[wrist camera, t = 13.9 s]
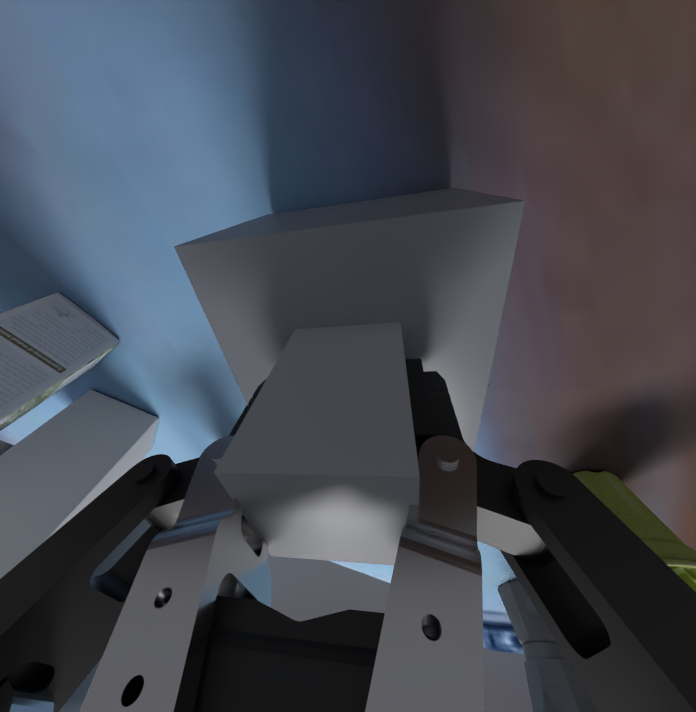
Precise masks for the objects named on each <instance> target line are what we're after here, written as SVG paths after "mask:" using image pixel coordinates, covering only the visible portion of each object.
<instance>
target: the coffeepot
mask: <svg viewBox="0 0 696 712" xmlns="http://www.w3.org/2000/svg"><path fill="white" fill-rule="evenodd" d="M498 592H499V594H500V596H501V599H502V601H503V604H504V606H505V609H506V611H507V613H508V616H509V618H510V621H511V623H512V625H513V628H514V630H515V633H516V635H517V637H518V640H519V642H520V643H521V644H522V645H523V646H522V647H523V651H524V654H525V657H526V660H527V661H526V662H524V664H525V669H526V675H527V681H528V686H529V691H530V697H531V702H532V708H533V712H599V710H598V709H597V707H596V705H595V704H594V702H593V700H592V699H591V697H590V696H589V694H588V692H587V691H586V689H585V687H584V686H583V684H582V683H581V681H580V679H579V678H578V676H577V674H576V673H575V671H574V670H573V668H572V666H571V665H570V663H569V661H568V660H567V658H566V657H565V655H564V653H563V652H562V650H561V648H560V647H559V645H558V643H557V642H556V640H555V639H554V637H553V635H552V634H551V632H550V630H549V629H548V627H547V626H546V624H545V622H544V621H543V619H542V617H541V616H540V614H539V613H538V611H537V609H536V608H535V606H534V604H533V603H532V601H531V600H530V598H529V596H528V595H527V593H526V591H525V590H524V588H523V587H522V585H521V583H520V582H519V580H513V581H509V582H506V583H503V584H502V585H501V586H500V587H499V588H498Z"/></svg>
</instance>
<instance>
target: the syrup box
mask: <svg viewBox="0 0 696 712" xmlns="http://www.w3.org/2000/svg"><path fill="white" fill-rule="evenodd" d="M118 343H119V340H118V339H117V338H116V337H115V336H114V335H113V334H111V333H110V332H109V331H108V330H107V329H106V328H104V327H103V326H102V325H101V324H99V323H98V322H97V321H96V320H94V319H93V318H92V317H91V316H89V315H88V314H87V313H85V312H84V311H83V310H81V309H80V308H79V307H78V306H76V305H75V304H74V303H72V302H71V301H70V300H68V299H67V298H66V297H64V296H63V295H62V294H61V293H59V292H58V293H54V294H51V295H48V296H46V297H43V298H41V299H38V300H35V301H32V302H30V303H27V304H24V305H21V306H18V307H15V308H13V309H10V310H8V311H5V312H2V313H0V431H1V430H2V429H4V428H5V427H7V426H8V425H10V424H11V423H13V422H14V421H16V420H17V419H18V418H20V417H21V416H23V415H24V414H26V413H27V412H29V411H30V410H32V409H33V408H35V407H36V406H38V405H39V404H40V403H42V402H43V401H45V400H46V399H48V398H49V397H51V396H52V395H54V394H55V393H56V392H58V391H59V390H61V389H62V388H64V387H65V386H67V385H68V384H70V383H71V382H73V381H74V380H75V379H77V378H78V377H80V376H81V375H83V374H84V373H85V372H87V371H88V370H90V369H91V368H93V367H94V366H95V365H97V364H98V362H99V361H100V360H101V359H102V358H103V357H104V356H105V355H106V354H107V353H109V352H110V351H111V350H112V349H113V348H114V347H115V346H116V345H117V344H118Z"/></svg>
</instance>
